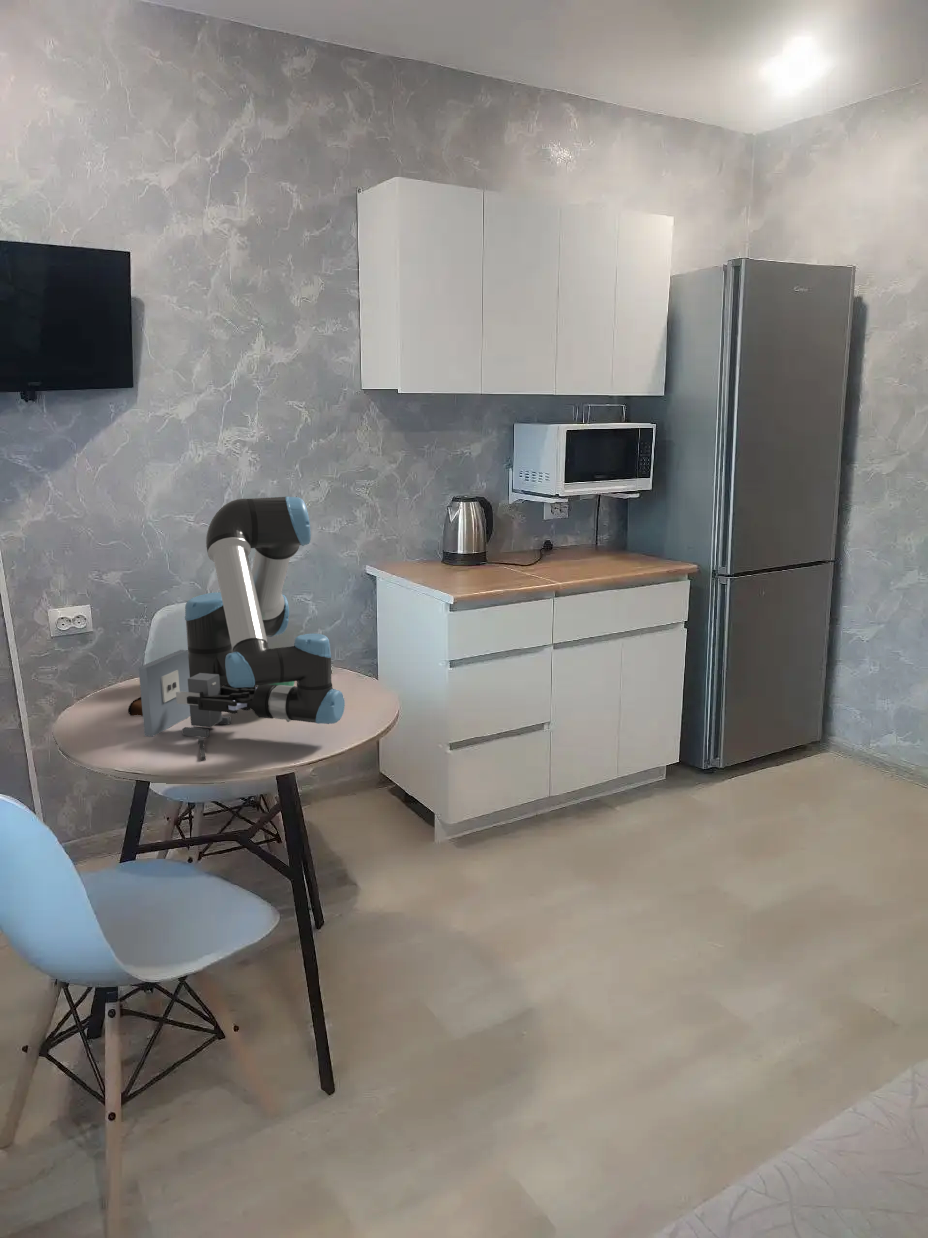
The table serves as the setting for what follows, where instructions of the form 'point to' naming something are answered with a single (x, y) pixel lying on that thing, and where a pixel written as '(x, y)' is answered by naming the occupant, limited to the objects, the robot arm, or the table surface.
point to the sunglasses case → (136, 707)
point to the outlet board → (167, 695)
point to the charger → (209, 687)
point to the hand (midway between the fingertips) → (184, 693)
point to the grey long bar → (202, 748)
